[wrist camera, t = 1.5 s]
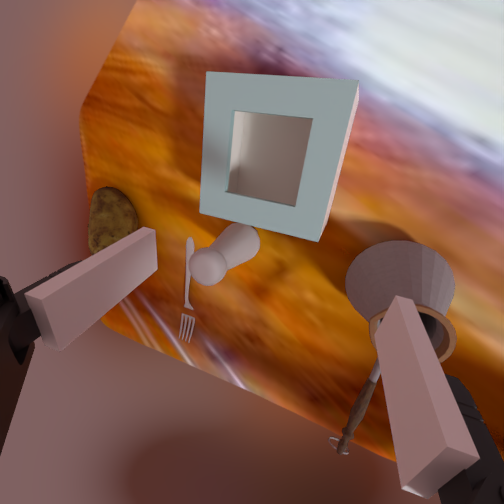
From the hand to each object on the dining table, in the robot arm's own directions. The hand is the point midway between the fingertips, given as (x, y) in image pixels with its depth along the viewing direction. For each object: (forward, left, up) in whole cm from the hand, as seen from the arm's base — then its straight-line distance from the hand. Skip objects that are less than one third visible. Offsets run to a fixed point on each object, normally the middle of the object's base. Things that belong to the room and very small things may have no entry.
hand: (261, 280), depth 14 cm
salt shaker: (-7, +9, -23) cm, 25 cm away
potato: (-10, +32, -23) cm, 41 cm away
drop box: (+5, +5, -23) cm, 24 cm away
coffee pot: (-12, -11, -23) cm, 28 cm away
